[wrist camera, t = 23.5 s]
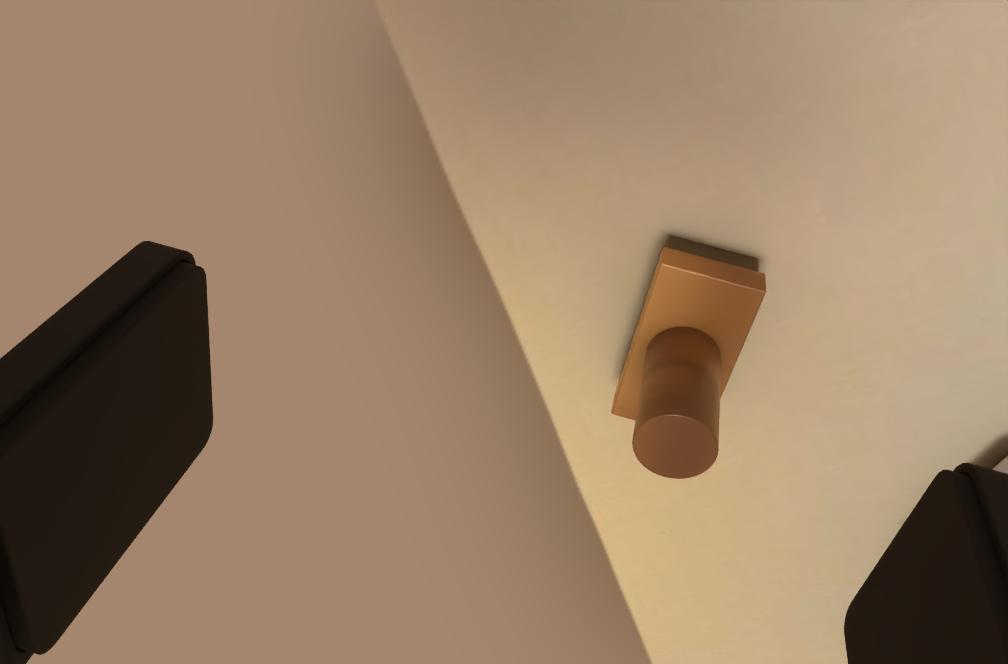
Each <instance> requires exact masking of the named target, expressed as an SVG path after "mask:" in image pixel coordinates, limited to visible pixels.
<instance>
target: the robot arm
mask: <svg viewBox="0 0 1008 664" xmlns="http://www.w3.org/2000/svg"><path fill="white" fill-rule="evenodd" d="M212 425H213V408H212V388H211V367H210V346H209V325H208V306H207V285H206V274H205V271H204V269H203V268H202V267H200V266H196V264H195V260H194V257H193V255H192V254H190V253H189V252H187V251H184V250H180V249H176V248H173V247H169V246H165V245H162V244H158V243H154V242H151V241H144V242H142V243H140V244H138V245H137V246H135V247H134V248H133V249H132V250H131V251H129V252H128V253H127V254H126V255H125V256H124V257H122V258H121V259H120V260H119V261H117V262H116V263H115V264H114V265H112V267H110V268H109V269H108V270H107V271H105V272H104V273H103V274H102V275H100V276H99V277H98V278H97V279H96V280H94V281H93V282H92V283H91V284H90V285H89V286H87V287H86V288H85V289H84V290H82V291H81V292H80V293H79V294H78V295H76V296H75V297H74V298H73V299H72V300H70V301H69V302H68V303H67V304H66V305H64V306H63V307H62V308H61V309H60V310H58V311H57V312H56V313H55V314H54V315H52V316H51V317H50V318H49V319H47V321H45V322H44V323H43V324H41V325H40V326H39V327H38V328H37V329H35V330H34V331H33V332H32V333H31V334H29V335H28V336H27V337H26V338H25V339H23V340H22V341H21V342H20V343H19V344H17V345H16V346H15V347H14V348H13V349H11V350H10V351H9V352H8V353H7V354H5V355H4V356H3V357H2V358H1V359H0V664H26V663H27V661H28V660H29V659H30V657H31V656H32V655H33V654H34V653H36V654H39V655H41V654H44V653H46V652H47V651H48V650H50V649H51V648H52V647H53V646H54V645H55V643H56V642H57V641H58V640H59V638H60V637H61V636H62V634H63V633H64V632H65V630H66V629H67V628H68V626H69V625H70V624H71V622H72V621H73V620H74V619H75V617H76V616H77V615H78V613H79V612H80V611H81V609H82V608H83V607H84V605H85V604H86V603H87V601H88V600H89V599H90V597H91V596H92V595H93V593H94V592H95V591H96V589H97V588H98V587H99V586H100V584H101V583H102V582H103V580H104V579H105V578H106V576H107V575H108V574H109V572H110V571H111V570H112V568H113V567H114V566H115V564H116V563H117V562H118V560H119V559H120V558H121V556H122V555H123V554H124V552H125V551H126V550H127V549H128V547H129V546H130V545H131V543H132V542H133V541H134V539H135V538H136V536H137V535H138V534H139V532H140V531H141V530H142V529H143V527H144V526H145V525H146V523H147V522H148V521H149V519H150V518H151V517H152V516H153V514H154V513H155V511H156V510H157V509H158V507H159V506H160V505H161V504H162V502H163V501H164V499H165V498H166V497H167V496H168V494H169V493H170V491H171V490H172V489H173V488H174V486H175V485H176V484H177V483H178V481H179V480H180V479H181V477H182V476H183V475H184V473H185V472H186V471H187V469H188V468H189V467H190V465H191V464H192V463H193V461H194V460H195V459H196V457H197V456H198V455H199V453H200V452H201V451H202V450H203V448H204V447H205V445H206V443H207V441H208V439H209V437H210V434H211V431H212ZM844 634H845V642H846V650H847V658H848V664H1008V474H1007V473H1003V472H1000V471H996V470H992V469H989V468H985V467H981V466H978V465H974V464H970V463H962V464H961V465H959V466H957V467H956V468H955V469H954V471H950V470H942V471H941V472H939V473H938V474H937V476H936V477H935V478H934V480H933V481H932V482H931V484H930V485H929V487H928V488H927V490H926V491H925V493H924V494H923V496H922V497H921V499H920V500H919V502H918V503H917V505H916V506H915V508H914V509H913V511H912V512H911V514H910V515H909V517H908V518H907V520H906V521H905V523H904V524H903V526H902V527H901V529H900V530H899V532H898V533H897V535H896V536H895V538H894V539H893V541H892V542H891V544H890V545H889V547H888V548H887V550H886V551H885V553H884V554H883V556H882V557H881V559H880V560H879V562H878V563H877V565H876V566H875V568H874V569H873V571H872V572H871V574H870V575H869V577H868V578H867V579H866V581H865V582H864V584H863V585H862V587H861V588H860V590H859V591H858V593H857V594H856V596H855V597H854V599H853V600H852V602H851V604H850V606H849V608H848V610H847V613H846V618H845V625H844Z"/></svg>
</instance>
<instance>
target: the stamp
mask: <svg viewBox="0 0 1008 664" xmlns="http://www.w3.org/2000/svg"><path fill="white" fill-rule="evenodd" d="M765 293H766V281H765V274H764V273H761V272H759V270H758V260H757V259H755V258H751V257H747V256H743V255H740V254H736V253H732V252H728V251H725V250H721V249H717V248H713V247H709V246H706V245H702V244H698V243H694V242H691V241H687V240H683V239H679V238H675V237H672V236H669V237H668V240H667V243H666V246H665V247H664V248H663V249H662V252H661V255H660V258H659V261H658V264H657V267H656V270H655V273H654V276H653V279H652V282H651V285H650V288H649V291H648V295H647V298H646V301H645V304H644V307H643V310H642V313H641V316H640V319H639V322H638V325H637V328H636V331H635V334H634V337H633V340H632V343H631V346H630V349H629V352H628V355H627V358H626V361H625V364H624V368H623V371H622V374H621V377H620V380H619V383H618V386H617V389H616V392H615V395H614V400H613V406H612V411H611V413H612V414H615V415H618V416H622V417H625V418H629V419H632V420H636V421H635V428H634V434H633V442H632V444H633V450H634V453H635V455H636V457H637V459H638V460H639V461H640V463H641V464H642V465H643V466H644V467H646V468H647V469H648V470H650V471H652V472H653V473H656V474H658V475H661V476H664V477H668V478H677V479H681V478H690V477H694V476H697V475H699V474H701V473H703V472H705V471H706V470H708V469H709V468H710V467H711V466H712V464H713V463H714V462H715V460H716V458H717V455H718V445H719V411H720V398H721V396H722V394H723V391H724V389H725V387H726V384H727V382H728V380H729V377H730V375H731V373H732V370H733V368H734V366H735V363H736V361H737V359H738V356H739V354H740V352H741V349H742V347H743V345H744V342H745V340H746V338H747V335H748V333H749V331H750V328H751V326H752V324H753V321H754V319H755V317H756V314H757V312H758V310H759V307H760V305H761V303H762V300H763V298H764V296H765Z"/></svg>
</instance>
